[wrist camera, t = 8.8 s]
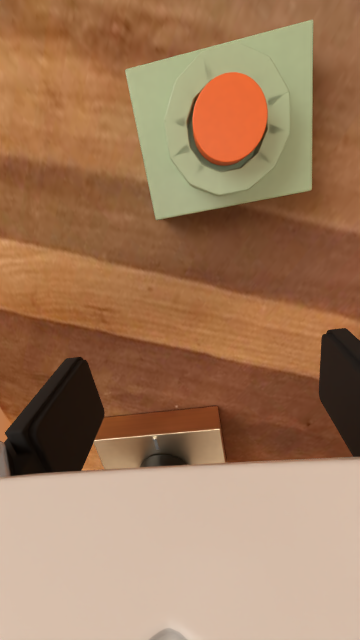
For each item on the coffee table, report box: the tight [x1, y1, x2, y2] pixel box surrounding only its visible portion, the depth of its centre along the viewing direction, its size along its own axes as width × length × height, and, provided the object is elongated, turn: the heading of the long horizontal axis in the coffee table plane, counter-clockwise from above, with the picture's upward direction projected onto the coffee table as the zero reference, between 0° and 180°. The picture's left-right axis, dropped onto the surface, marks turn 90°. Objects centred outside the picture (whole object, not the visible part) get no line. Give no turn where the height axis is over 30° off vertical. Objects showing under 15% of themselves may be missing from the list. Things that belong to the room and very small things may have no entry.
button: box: [192, 72, 268, 166], centre depth 14 cm, size 4×4×2 cm
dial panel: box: [94, 406, 227, 469], centre depth 28 cm, size 12×10×3 cm
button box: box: [125, 20, 313, 220], centre depth 16 cm, size 10×8×4 cm
